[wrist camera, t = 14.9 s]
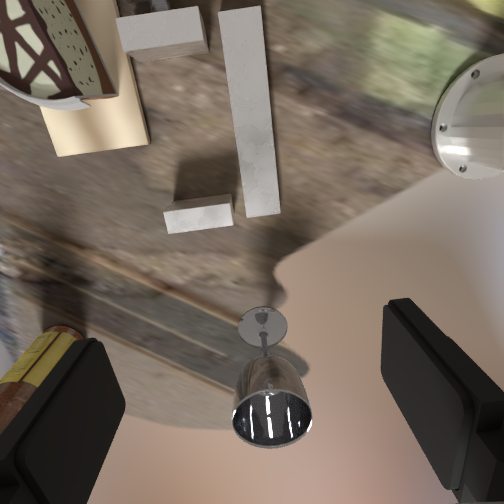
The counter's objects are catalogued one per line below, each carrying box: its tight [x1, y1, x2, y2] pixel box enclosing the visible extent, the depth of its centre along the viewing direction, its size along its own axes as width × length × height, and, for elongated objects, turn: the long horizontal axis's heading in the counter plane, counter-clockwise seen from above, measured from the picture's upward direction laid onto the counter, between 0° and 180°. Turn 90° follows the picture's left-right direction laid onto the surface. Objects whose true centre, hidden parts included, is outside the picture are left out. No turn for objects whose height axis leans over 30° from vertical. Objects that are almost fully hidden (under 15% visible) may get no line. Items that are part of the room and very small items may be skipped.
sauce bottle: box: [0, 326, 84, 435], centre depth 35 cm, size 7×6×20 cm
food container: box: [0, 0, 119, 111], centre depth 25 cm, size 12×6×10 cm, turn 18°
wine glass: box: [232, 307, 312, 449], centre depth 37 cm, size 8×8×15 cm
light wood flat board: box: [40, 0, 151, 157], centre depth 30 cm, size 10×18×1 cm, turn 7°
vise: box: [115, 0, 281, 234], centre depth 31 cm, size 12×22×5 cm, turn 7°
